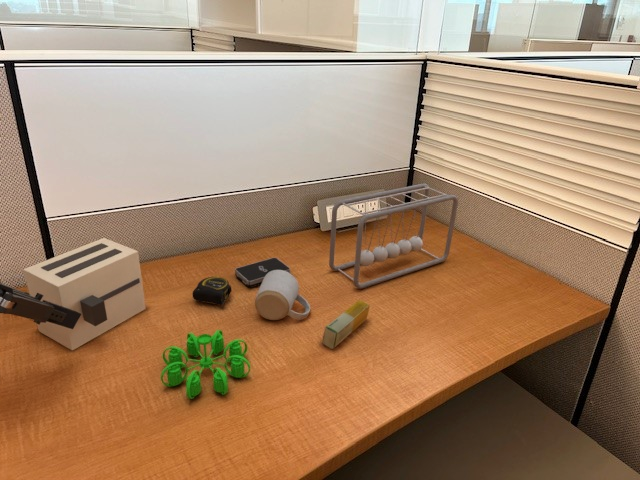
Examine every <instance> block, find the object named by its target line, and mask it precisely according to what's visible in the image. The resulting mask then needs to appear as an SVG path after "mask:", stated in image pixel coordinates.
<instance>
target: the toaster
mask: <svg viewBox="0 0 640 480" xmlns="http://www.w3.org/2000/svg"><path fill="white" fill-rule="evenodd" d="M23 274H24V278H25V283H26V286H27V289H28V290H27V291H28V293H29V294H30V296H33V297H35V296H36V294H37V293H40V294H42V295H44V296H43V297H42V299H41V301H43V300H45V301H48V302H51V303H54V304H57V305H60V306H63V307H65V308H68V309H71V310H74V311H77V312H79V313H80V314H81V316H80V318H79V319H78V321H77V323H76V325H75V326H74V328H73V329H70V328H67V327H63V326H60V325H57V324H54V323H50V322H47V321H46V323H44V322H43V323H42V322H41V323H40V325H39V324H37V323H36V327H37V329H38V332H39V333H41V334H43V335H44V336H47V337H48V338H50V339H51V340H53V341H55V342H57V344H60V345H62V346H63V347H65V348H66V349H68V350H70V351H74V350H76V349H78V348H79V347H81V346H83V345H85V344H86V343H89V342H90V341H92V340H94V339H96V338H97V337H99V336H101V335H103V334H104V333H106V332H107V331H109V330H112V329H113V328H114V327H117V326H119V325H120V324H122V323H124V322H125V321H127V320H129V319H130V318H132V317H134V316H136V315H137V314H139V313H141V312H143V311H144V310H146V301H145V300H146V299H145V294H144V293H145V292H144V286H143V285H144V284H143V279H142V278H143V277H142V271H141V263H140V255H139V250H136V249H134V248H131V247H129V246H126V245H123V244H121V243H118V242H115V241H113V240H110V239H108V238H106V237H102V238H100V239H98V240H95V241H92V242H90V243H87V244H85V245H82V246H80V247H77V248H74V249H72V250H69V251H67V252H65V253H62V254H59V255H56V256H54V257H51V258H49V259H47V260H44V261H41V262H38V263H36V264H33V265H31V266H28V267H26V268H23ZM91 295H93V296H96V297H98V298H100V299H102V300H104V303H105V309H106V314H107V320H106V321H104V322H103V323H101V324H99V325H97V326H94V325H92V324H90V323H88V322H86V321H84V318H83V313H82V309H81V304H80V301H81V300H83V299H85V298H87V297H89V296H91Z"/></svg>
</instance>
